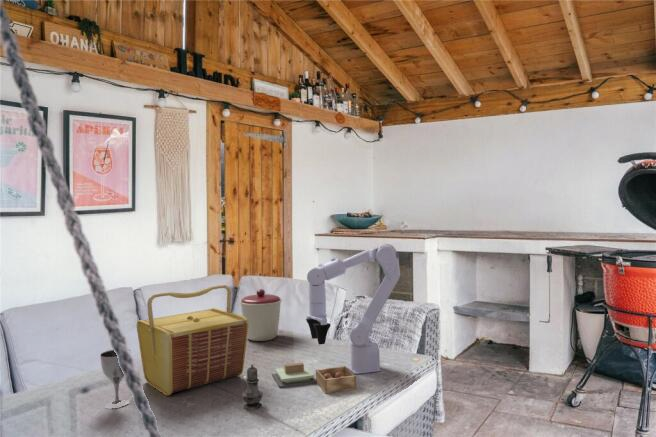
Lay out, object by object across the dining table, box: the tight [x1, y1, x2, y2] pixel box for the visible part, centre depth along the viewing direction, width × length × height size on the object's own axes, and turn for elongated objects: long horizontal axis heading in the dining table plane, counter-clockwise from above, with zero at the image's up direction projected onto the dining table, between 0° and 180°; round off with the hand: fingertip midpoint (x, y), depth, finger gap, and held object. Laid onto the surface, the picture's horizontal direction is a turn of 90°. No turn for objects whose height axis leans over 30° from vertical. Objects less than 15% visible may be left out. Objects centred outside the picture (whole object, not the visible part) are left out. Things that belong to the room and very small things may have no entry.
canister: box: [239, 288, 283, 342], centre depth 213 cm, size 18×18×21 cm
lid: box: [274, 362, 315, 383], centre depth 162 cm, size 10×10×4 cm
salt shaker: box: [241, 364, 264, 411], centre depth 141 cm, size 6×6×12 cm
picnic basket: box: [136, 284, 248, 396], centre depth 163 cm, size 29×26×30 cm
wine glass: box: [100, 349, 131, 404], centre depth 144 cm, size 8×8×15 cm
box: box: [315, 365, 357, 394], centre depth 156 cm, size 10×10×4 cm
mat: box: [271, 372, 317, 389], centre depth 162 cm, size 12×12×1 cm
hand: (318, 341), depth 173 cm, fingers open, 7 cm apart
